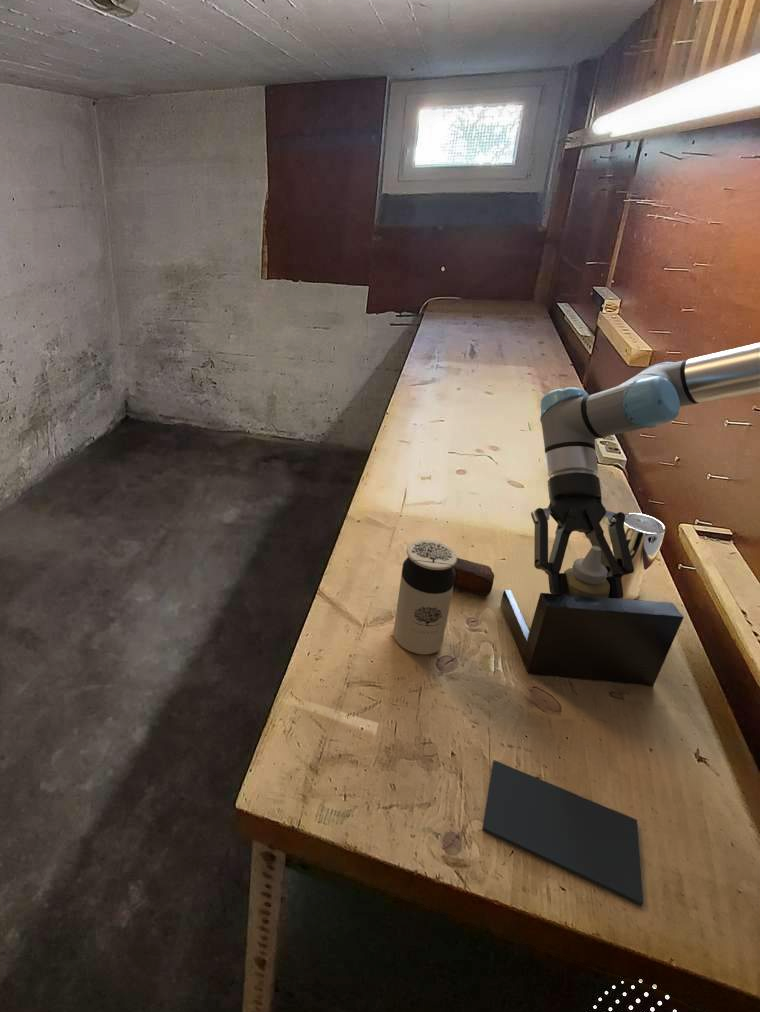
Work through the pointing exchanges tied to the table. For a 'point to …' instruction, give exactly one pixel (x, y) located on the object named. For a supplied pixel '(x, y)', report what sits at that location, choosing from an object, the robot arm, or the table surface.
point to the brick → (473, 577)
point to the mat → (565, 830)
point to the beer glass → (640, 549)
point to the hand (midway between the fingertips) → (588, 617)
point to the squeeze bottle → (588, 576)
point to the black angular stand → (594, 637)
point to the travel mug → (424, 596)
